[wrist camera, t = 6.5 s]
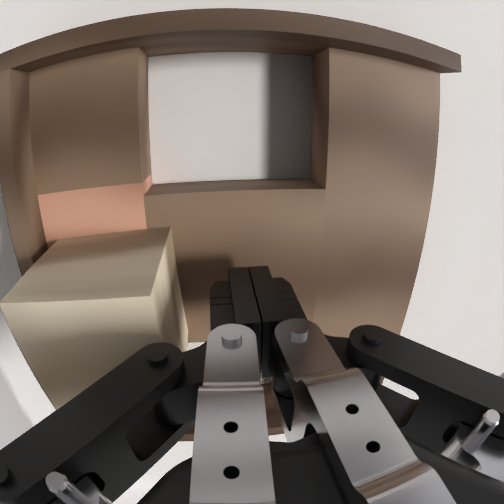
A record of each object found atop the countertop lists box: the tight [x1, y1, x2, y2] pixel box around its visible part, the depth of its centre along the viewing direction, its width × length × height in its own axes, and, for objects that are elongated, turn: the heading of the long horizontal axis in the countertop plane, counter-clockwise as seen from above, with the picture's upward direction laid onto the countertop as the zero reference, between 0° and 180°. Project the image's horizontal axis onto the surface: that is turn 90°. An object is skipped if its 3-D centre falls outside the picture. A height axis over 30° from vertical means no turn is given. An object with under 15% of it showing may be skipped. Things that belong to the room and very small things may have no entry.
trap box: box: [0, 8, 461, 441], centre depth 13 cm, size 20×18×4 cm
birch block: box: [0, 227, 188, 410], centre depth 10 cm, size 5×5×5 cm
